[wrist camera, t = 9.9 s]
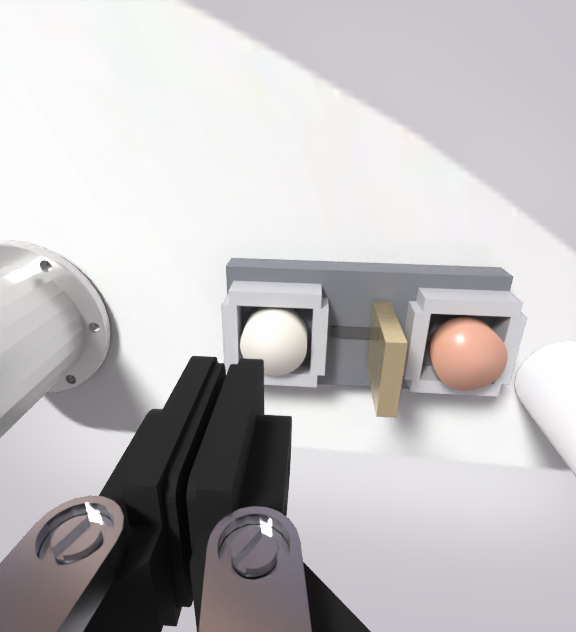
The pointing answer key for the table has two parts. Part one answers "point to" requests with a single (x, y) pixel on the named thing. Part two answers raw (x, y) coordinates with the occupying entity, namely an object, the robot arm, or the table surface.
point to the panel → (369, 314)
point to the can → (552, 395)
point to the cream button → (275, 339)
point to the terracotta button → (467, 353)
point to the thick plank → (385, 359)
